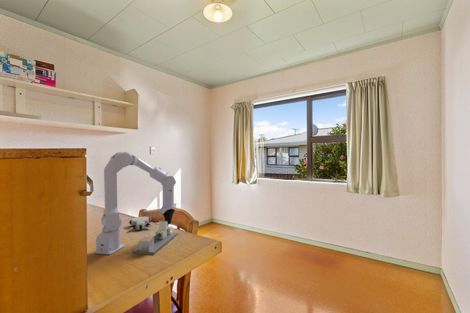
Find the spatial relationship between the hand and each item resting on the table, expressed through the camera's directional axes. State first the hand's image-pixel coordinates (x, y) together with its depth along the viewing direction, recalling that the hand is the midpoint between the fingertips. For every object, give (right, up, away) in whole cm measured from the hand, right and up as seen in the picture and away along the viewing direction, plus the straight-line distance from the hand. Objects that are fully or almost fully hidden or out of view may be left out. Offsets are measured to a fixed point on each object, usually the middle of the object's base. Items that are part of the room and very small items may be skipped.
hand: (168, 223), depth 118 cm
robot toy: (-20, -6, +13) cm, 25 cm away
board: (-2, -6, -11) cm, 13 cm away
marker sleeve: (-1, -5, -7) cm, 9 cm away
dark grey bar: (-2, -4, -11) cm, 12 cm away
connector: (-3, -5, -20) cm, 21 cm away
